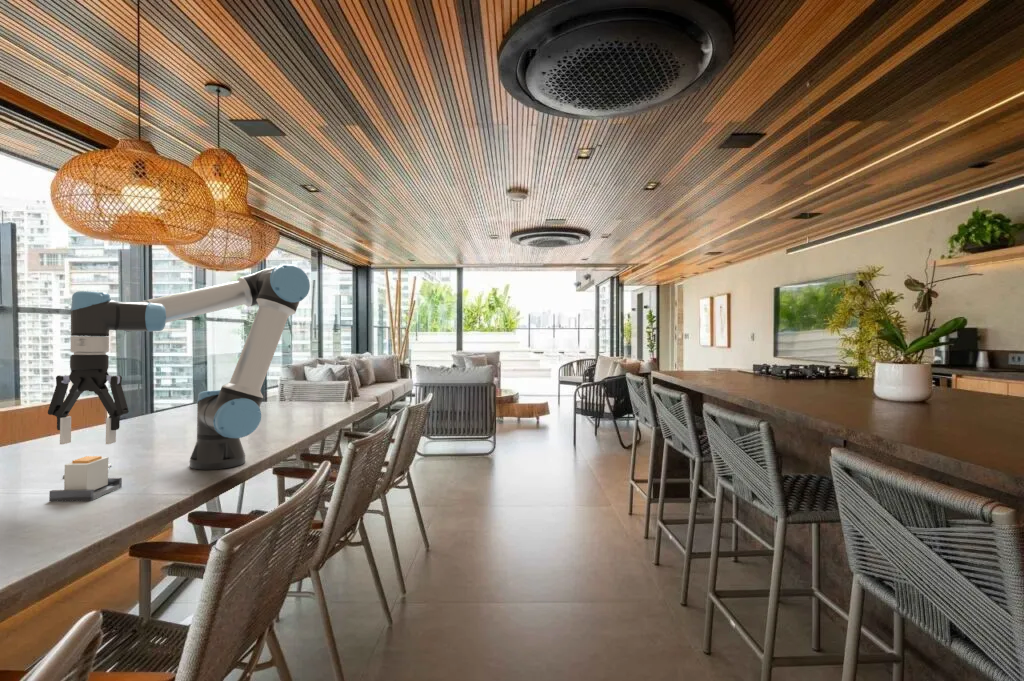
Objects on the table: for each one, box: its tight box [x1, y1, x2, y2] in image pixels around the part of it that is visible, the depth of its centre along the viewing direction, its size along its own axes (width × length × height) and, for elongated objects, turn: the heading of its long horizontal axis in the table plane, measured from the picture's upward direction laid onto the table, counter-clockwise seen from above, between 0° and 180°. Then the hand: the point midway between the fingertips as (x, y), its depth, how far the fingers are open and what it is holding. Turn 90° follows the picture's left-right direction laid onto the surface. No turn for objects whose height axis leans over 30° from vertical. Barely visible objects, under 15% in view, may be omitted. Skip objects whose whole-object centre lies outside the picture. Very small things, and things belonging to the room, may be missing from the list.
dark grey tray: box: [48, 477, 123, 502], centre depth 132 cm, size 9×12×2 cm
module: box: [63, 455, 109, 490], centre depth 132 cm, size 5×8×8 cm, turn 7°
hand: (88, 443), depth 132 cm, fingers open, 10 cm apart
